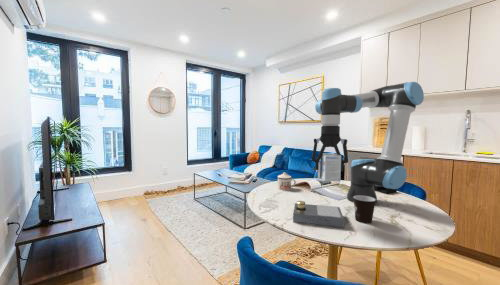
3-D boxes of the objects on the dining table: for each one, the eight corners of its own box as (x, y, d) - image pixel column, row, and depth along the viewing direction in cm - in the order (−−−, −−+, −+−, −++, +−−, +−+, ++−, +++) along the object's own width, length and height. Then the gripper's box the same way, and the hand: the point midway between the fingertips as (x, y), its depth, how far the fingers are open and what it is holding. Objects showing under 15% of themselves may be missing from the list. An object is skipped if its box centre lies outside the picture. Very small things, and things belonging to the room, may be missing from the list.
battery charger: (367, 190, 150) (368, 184, 150) (377, 189, 154) (377, 183, 154) (386, 195, 139) (387, 189, 138) (396, 194, 143) (396, 187, 142)
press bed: (339, 215, 105) (339, 206, 104) (343, 228, 91) (343, 217, 91) (295, 211, 110) (295, 202, 109) (293, 222, 96) (293, 212, 96)
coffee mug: (374, 226, 93) (374, 202, 92) (351, 222, 97) (352, 199, 97) (375, 217, 103) (376, 195, 102) (354, 213, 107) (355, 192, 107)
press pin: (305, 209, 103) (305, 201, 103) (305, 212, 100) (305, 203, 99) (297, 209, 104) (297, 200, 104) (296, 211, 101) (296, 203, 100)
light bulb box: (317, 176, 104) (318, 152, 103) (332, 176, 103) (333, 152, 103) (324, 181, 93) (325, 155, 92) (341, 181, 93) (342, 155, 92)
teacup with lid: (279, 192, 143) (279, 174, 142) (275, 188, 152) (276, 171, 151) (297, 192, 144) (298, 173, 143) (293, 188, 153) (293, 171, 152)
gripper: (354, 125, 98) (352, 177, 99) (306, 125, 103) (304, 175, 104) (358, 125, 91) (356, 181, 92) (305, 125, 96) (304, 178, 97)
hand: (328, 178), depth 98 cm, fingers closed on light bulb box, 7 cm apart
